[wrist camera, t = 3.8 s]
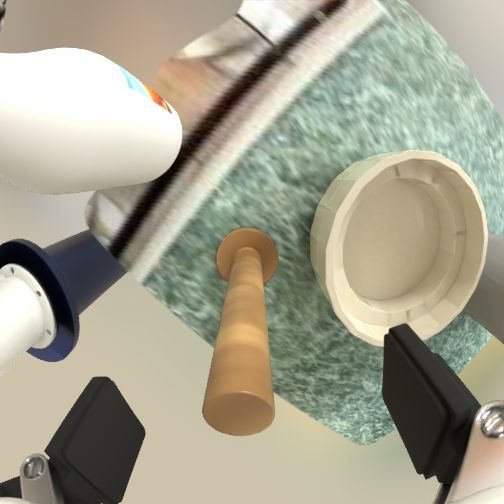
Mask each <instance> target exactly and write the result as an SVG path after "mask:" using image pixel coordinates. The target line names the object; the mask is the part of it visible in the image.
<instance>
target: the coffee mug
mask: <svg viewBox="0 0 504 504" xmlns="http://www.w3.org/2000/svg"><path fill="white" fill-rule="evenodd" d="M463 311H464V312H465V313H466V314H468V315H469V316H470V317H472V318H473V319H474V320H475V321H477V322H478V323H479V324H480V325H482V326H483V327H484V328H485V329H486V330H488V331H489V332H490V333H491V334H493V335H494V336H495V337H496V338H497V339H499V340H500V341H501V342H502V343H503V344H504V237H502V236H499V235H496V234H494V233H488V243H487V252H486V259H485V264H484V267H483V270H482V273H481V276H480V279H479V281H478V284H477V287H476V289H475V291H474V293H473V294H472V296H471V297H470V299H469V301H468V302H467V304H466V305H465V307H464V308H463Z"/></svg>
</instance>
